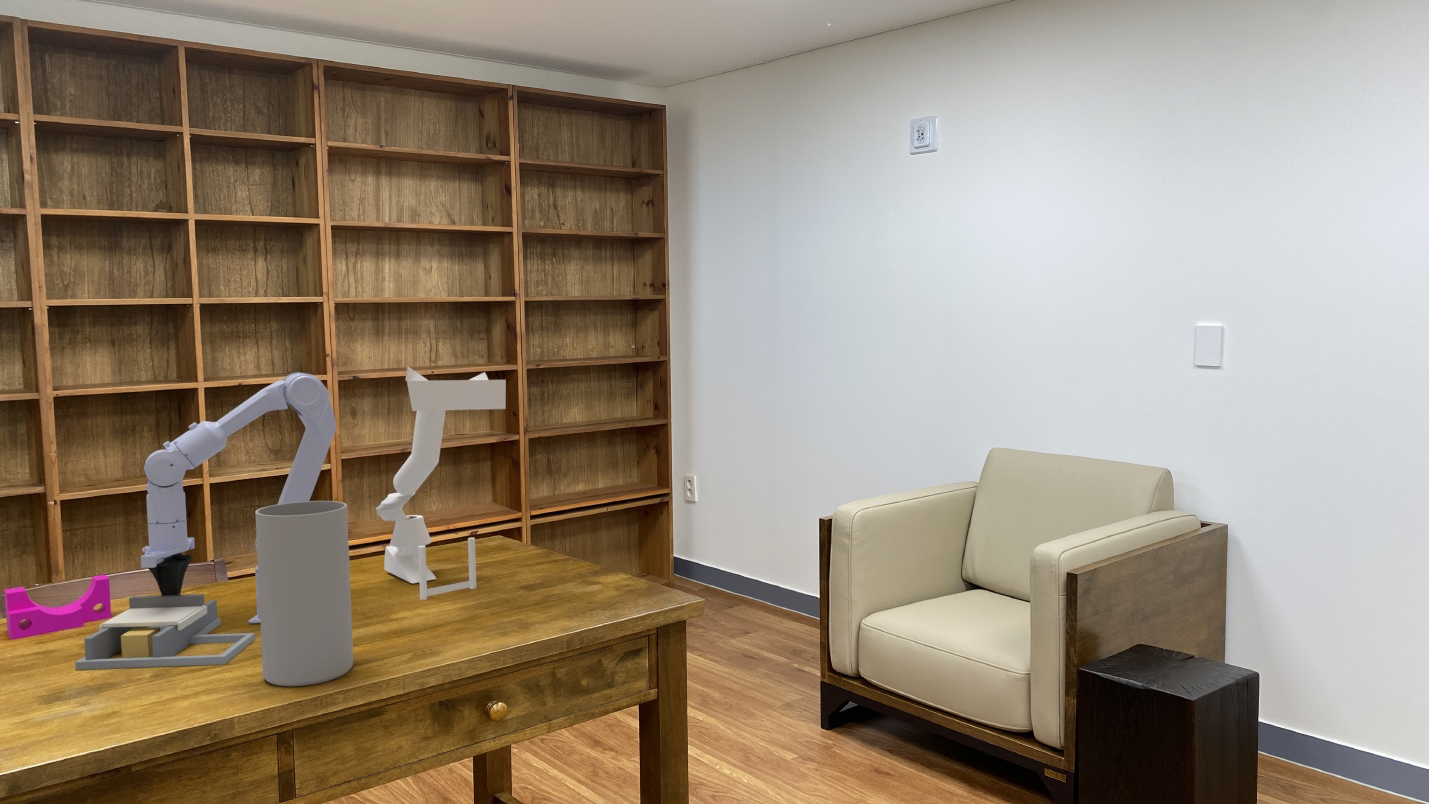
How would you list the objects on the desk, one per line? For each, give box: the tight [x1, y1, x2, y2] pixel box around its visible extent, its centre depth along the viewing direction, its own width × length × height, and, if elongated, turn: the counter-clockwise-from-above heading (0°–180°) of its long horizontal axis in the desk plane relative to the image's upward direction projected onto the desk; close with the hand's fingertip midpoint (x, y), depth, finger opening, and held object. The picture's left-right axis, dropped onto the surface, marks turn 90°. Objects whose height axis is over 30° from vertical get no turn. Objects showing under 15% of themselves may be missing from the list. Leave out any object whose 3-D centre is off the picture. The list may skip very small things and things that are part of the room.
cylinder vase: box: [254, 500, 354, 687], centre depth 145 cm, size 12×12×25 cm
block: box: [121, 627, 160, 658], centre depth 155 cm, size 4×4×4 cm
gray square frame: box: [74, 599, 256, 671], centre depth 160 cm, size 22×22×4 cm
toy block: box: [4, 574, 112, 641], centre depth 171 cm, size 15×6×8 cm, turn 131°
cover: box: [98, 593, 207, 631], centre depth 160 cm, size 12×10×3 cm
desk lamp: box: [375, 366, 507, 601], centre depth 188 cm, size 38×18×45 cm, turn 42°
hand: (171, 599), depth 166 cm, fingers closed
